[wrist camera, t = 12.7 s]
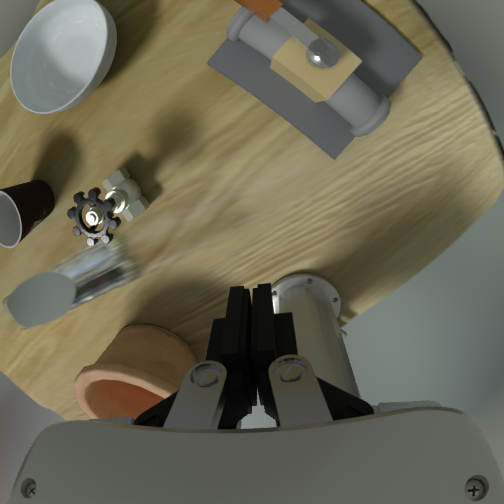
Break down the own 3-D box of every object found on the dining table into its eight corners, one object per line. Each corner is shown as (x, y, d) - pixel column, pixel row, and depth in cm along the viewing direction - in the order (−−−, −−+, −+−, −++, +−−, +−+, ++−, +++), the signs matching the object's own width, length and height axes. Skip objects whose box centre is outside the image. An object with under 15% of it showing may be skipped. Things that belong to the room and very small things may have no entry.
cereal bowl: (147, 72, 33) (125, 65, 27) (57, 132, 36) (28, 138, 30) (110, -14, 26) (88, -29, 20) (28, 49, 29) (0, 46, 23)
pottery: (160, 402, 60) (145, 454, 47) (84, 339, 53) (54, 390, 40) (234, 370, 54) (229, 433, 41) (149, 289, 47) (117, 350, 34)
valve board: (417, 59, 31) (453, 50, 22) (332, 158, 38) (352, 171, 29) (303, -34, 26) (313, -66, 17) (208, 64, 33) (193, 50, 24)
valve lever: (341, 57, 24) (347, 54, 22) (321, 75, 25) (325, 73, 23) (239, -24, 20) (237, -32, 19) (218, -6, 21) (215, -13, 20)
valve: (136, 158, 38) (93, 177, 27) (162, 196, 40) (129, 228, 30) (103, 184, 40) (57, 210, 29) (128, 220, 42) (90, 257, 31)
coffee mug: (50, 166, 38) (9, 183, 29) (65, 217, 42) (29, 242, 33) (8, 186, 39) (-30, 204, 30) (22, 230, 43) (-12, 255, 34)
